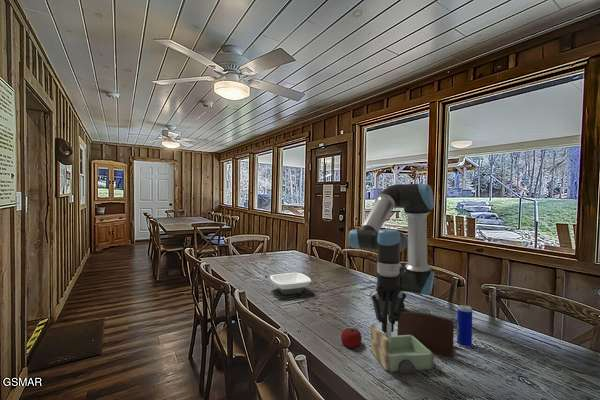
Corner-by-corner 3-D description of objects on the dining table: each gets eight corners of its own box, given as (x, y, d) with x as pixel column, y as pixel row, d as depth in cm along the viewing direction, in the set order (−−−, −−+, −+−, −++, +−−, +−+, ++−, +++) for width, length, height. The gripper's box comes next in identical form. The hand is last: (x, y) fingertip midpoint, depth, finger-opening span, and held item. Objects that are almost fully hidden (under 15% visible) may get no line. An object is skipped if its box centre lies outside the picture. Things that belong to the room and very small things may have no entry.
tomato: (362, 343, 120) (362, 325, 119) (360, 353, 112) (360, 334, 112) (342, 340, 122) (342, 322, 122) (339, 350, 114) (339, 331, 114)
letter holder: (453, 358, 109) (453, 319, 109) (396, 345, 118) (397, 310, 118) (453, 345, 118) (453, 310, 118) (400, 334, 127) (401, 301, 127)
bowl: (314, 295, 176) (314, 281, 175) (277, 300, 167) (277, 285, 167) (300, 284, 196) (300, 271, 196) (266, 288, 188) (266, 275, 187)
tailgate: (370, 353, 111) (371, 324, 111) (373, 352, 111) (374, 323, 111) (385, 373, 99) (385, 340, 98) (388, 372, 99) (389, 340, 98)
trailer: (371, 350, 114) (371, 334, 114) (408, 347, 116) (409, 332, 116) (393, 379, 96) (393, 360, 96) (436, 375, 98) (436, 357, 98)
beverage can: (458, 340, 122) (459, 303, 122) (472, 344, 119) (473, 306, 119) (455, 344, 118) (456, 307, 118) (470, 349, 115) (471, 310, 115)
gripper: (374, 277, 100) (374, 347, 100) (411, 276, 102) (410, 344, 102) (366, 271, 107) (365, 337, 108) (400, 270, 109) (399, 334, 110)
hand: (387, 340), depth 105 cm, fingers closed
